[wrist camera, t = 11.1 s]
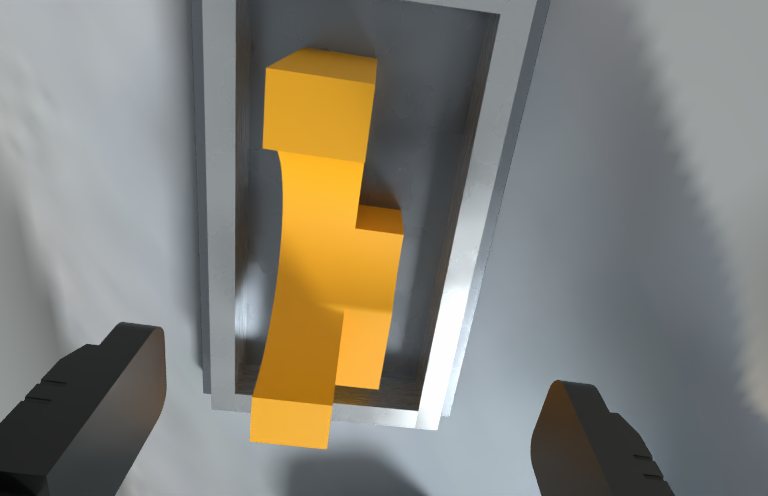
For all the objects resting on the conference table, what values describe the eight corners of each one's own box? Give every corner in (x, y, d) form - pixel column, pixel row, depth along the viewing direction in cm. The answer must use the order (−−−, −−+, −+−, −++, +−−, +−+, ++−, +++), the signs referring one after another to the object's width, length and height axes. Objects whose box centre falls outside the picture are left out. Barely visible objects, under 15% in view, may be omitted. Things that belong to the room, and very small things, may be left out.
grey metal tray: (552, -43, 17) (583, -52, 15) (446, 402, 26) (454, 448, 23) (197, -97, 17) (162, -117, 14) (209, 379, 25) (189, 424, 23)
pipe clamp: (378, 341, 23) (378, 454, 17) (283, 330, 23) (250, 441, 17) (426, 65, 18) (447, 95, 12) (303, 47, 18) (265, 67, 12)
